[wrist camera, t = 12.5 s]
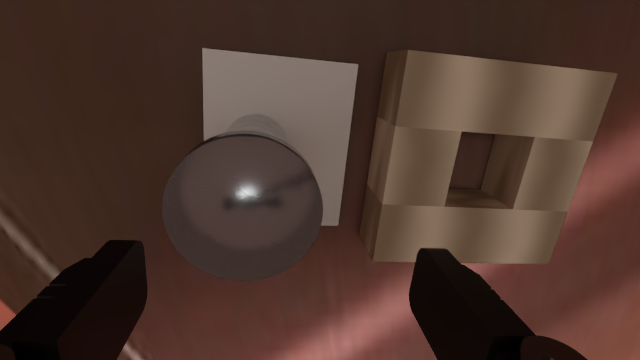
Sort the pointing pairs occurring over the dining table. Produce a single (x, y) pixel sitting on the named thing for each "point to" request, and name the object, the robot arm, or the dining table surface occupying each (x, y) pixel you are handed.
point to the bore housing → (503, 164)
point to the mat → (287, 108)
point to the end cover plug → (243, 203)
